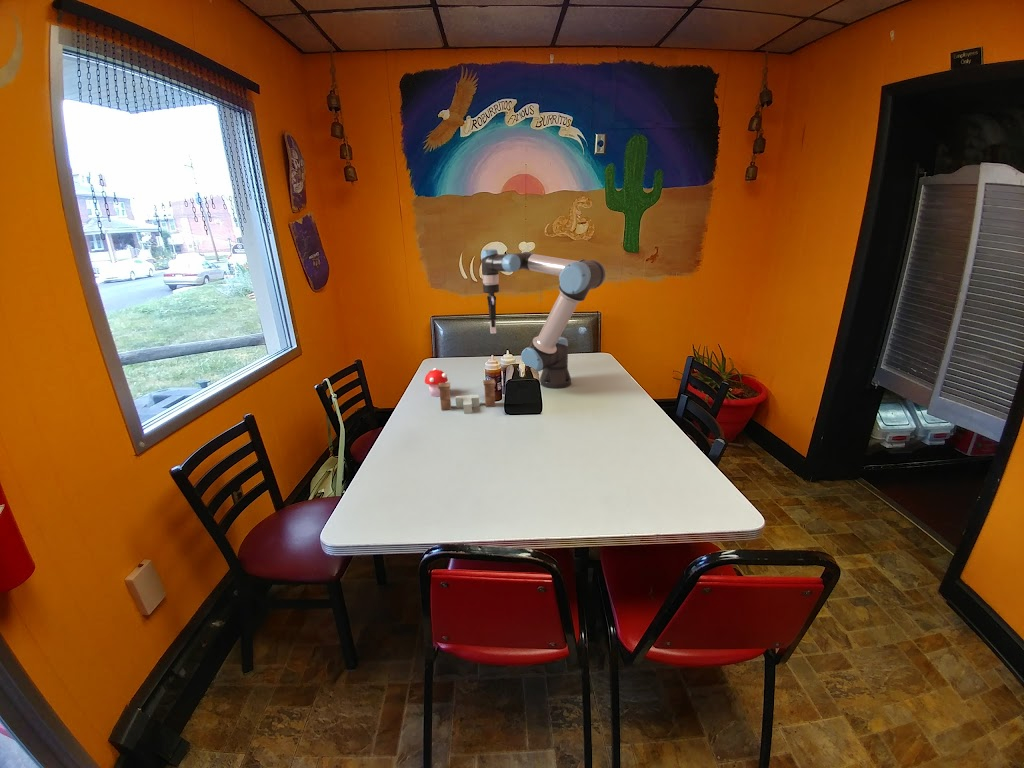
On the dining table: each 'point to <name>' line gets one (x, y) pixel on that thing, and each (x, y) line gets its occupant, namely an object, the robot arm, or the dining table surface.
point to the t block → (467, 402)
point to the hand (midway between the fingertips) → (493, 333)
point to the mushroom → (435, 381)
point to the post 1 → (445, 396)
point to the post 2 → (489, 393)
